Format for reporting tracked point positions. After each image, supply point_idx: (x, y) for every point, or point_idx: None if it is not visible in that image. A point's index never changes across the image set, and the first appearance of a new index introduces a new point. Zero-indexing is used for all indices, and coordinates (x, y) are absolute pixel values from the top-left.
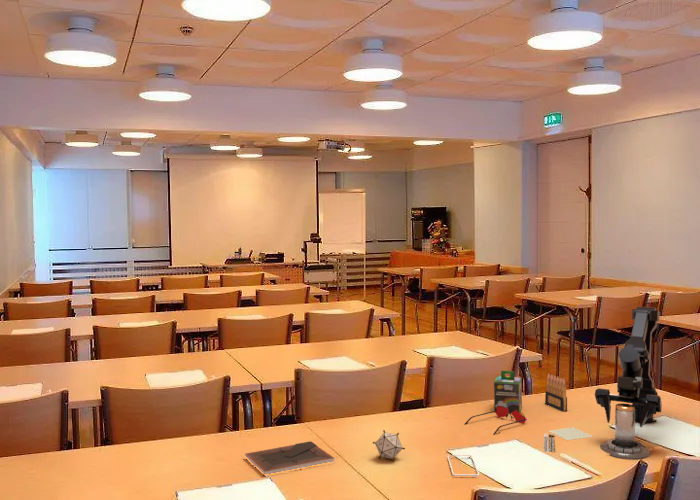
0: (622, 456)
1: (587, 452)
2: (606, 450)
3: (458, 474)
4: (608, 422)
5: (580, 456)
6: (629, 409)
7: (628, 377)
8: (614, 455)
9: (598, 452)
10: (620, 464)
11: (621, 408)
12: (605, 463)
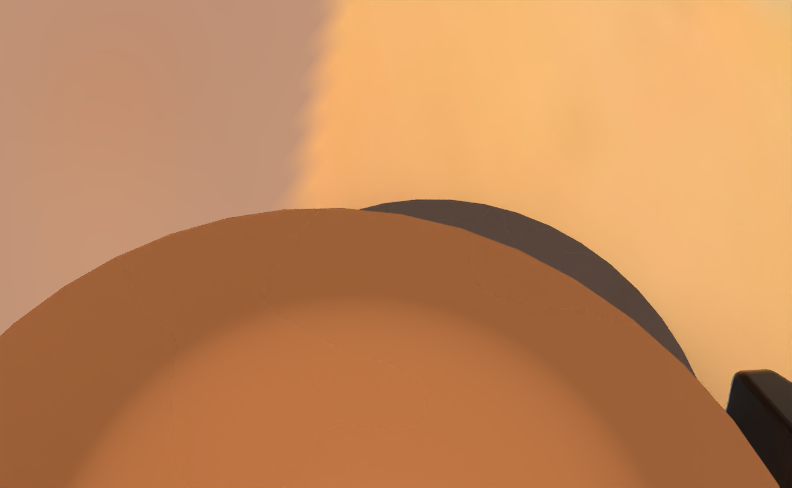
0: (389, 204)
1: (756, 194)
2: (583, 274)
3: None
4: (733, 404)
5: (762, 45)
6: (62, 307)
7: None
8: (472, 208)
9: (658, 259)
10: (372, 55)
11: (391, 221)
12: (495, 6)
